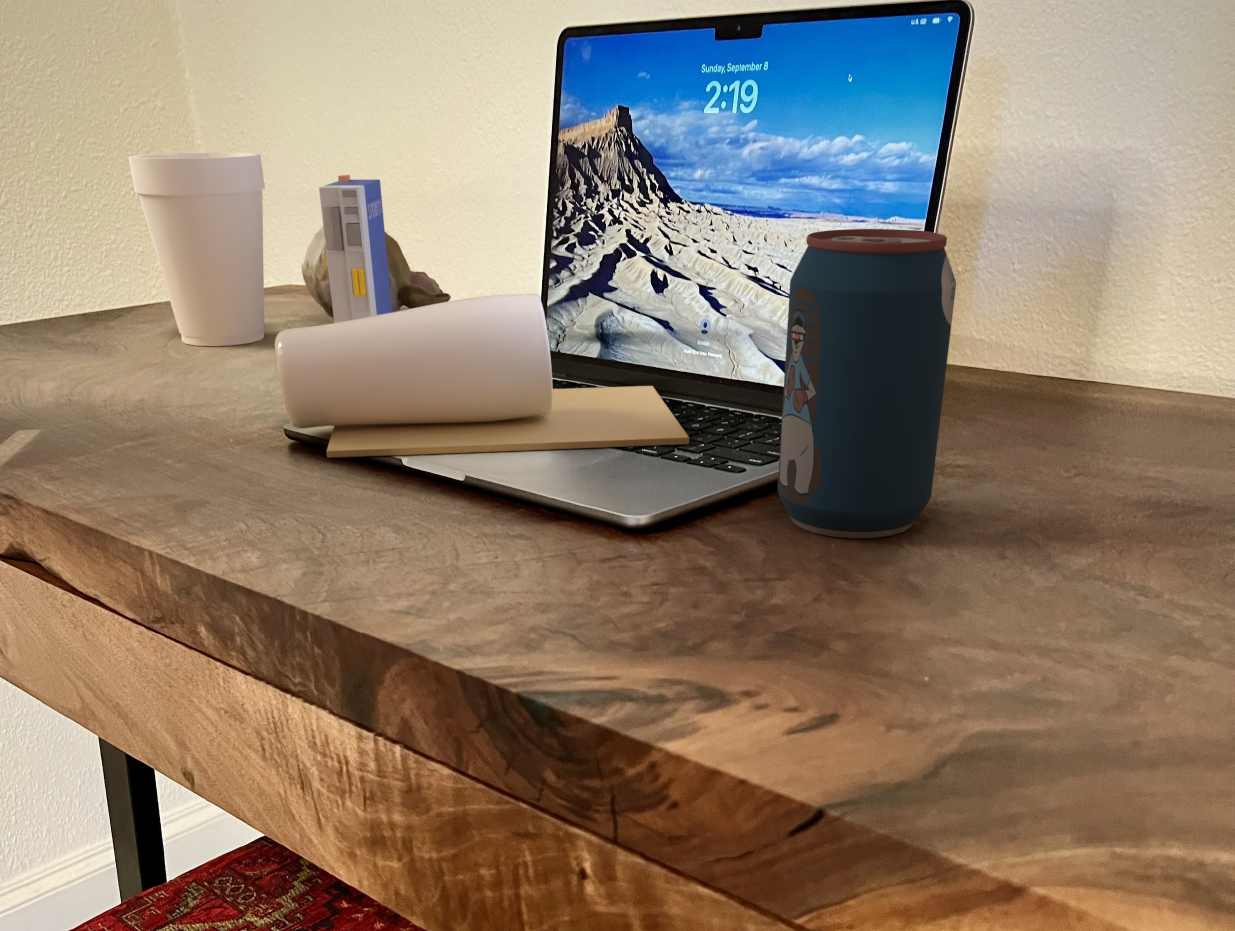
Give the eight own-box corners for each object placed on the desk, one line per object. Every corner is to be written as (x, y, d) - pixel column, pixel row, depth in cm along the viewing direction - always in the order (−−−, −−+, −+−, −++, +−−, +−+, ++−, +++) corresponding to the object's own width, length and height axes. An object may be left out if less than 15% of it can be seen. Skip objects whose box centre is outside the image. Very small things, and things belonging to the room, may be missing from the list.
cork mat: (327, 457, 69) (326, 450, 69) (343, 402, 81) (342, 395, 80) (689, 444, 71) (689, 437, 71) (652, 391, 83) (652, 385, 83)
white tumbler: (264, 316, 67) (544, 290, 69) (275, 316, 73) (531, 291, 75) (288, 448, 70) (557, 419, 71) (297, 437, 76) (544, 410, 78)
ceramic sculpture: (382, 195, 112) (453, 220, 101) (390, 299, 117) (459, 332, 106) (265, 203, 107) (327, 229, 97) (278, 310, 112) (339, 346, 102)
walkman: (359, 350, 96) (341, 173, 90) (396, 350, 96) (379, 173, 90) (337, 371, 89) (315, 181, 83) (376, 371, 89) (357, 181, 83)
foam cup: (159, 352, 96) (124, 159, 89) (163, 332, 104) (131, 153, 97) (287, 345, 98) (262, 156, 92) (281, 326, 106) (258, 151, 99)
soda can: (950, 513, 59) (987, 231, 53) (890, 552, 54) (922, 247, 48) (817, 490, 63) (837, 223, 57) (749, 526, 58) (762, 238, 52)
